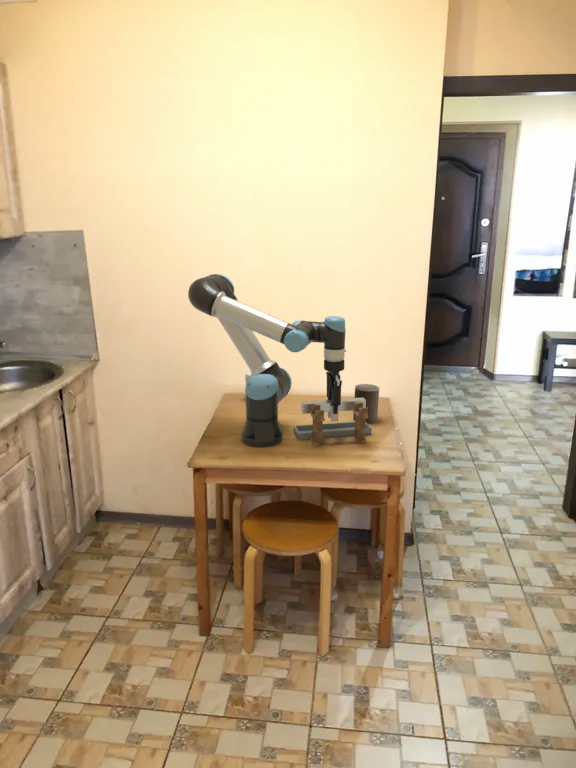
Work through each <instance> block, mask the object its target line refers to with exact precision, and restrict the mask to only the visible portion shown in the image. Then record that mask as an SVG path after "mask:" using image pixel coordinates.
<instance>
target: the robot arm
mask: <svg viewBox="0 0 576 768" xmlns="http://www.w3.org/2000/svg"><path fill="white" fill-rule="evenodd" d="M187 296H188V301H189V302H190V304H191V306H192V307H193V308H195V309H196V310H198V311H199V312H201V313H203V314H206V315H208V316H210V317H212V318H217V319H218V321H219V322H220V324H221V326H222V327H223V329H224V331H225V332H226V333H227V335H228V336H229V338H230V340H231V342H232V343H233V345H234V346H235V348H236V350H237V351H238V353H239V354H240V356H241V357H242V359H243V361H244V362H245V364H246V366H247V367H248V369H249V371H251V376H250V378H249V379H248V380H247V382H246V381H245V389H244V391H245V422H244V425H243V428H242V432H241V440H242V442H243V443H244V444H246V445H248V446H250V447H257V446H258V447H262V448H263V447H264V448H265V447H273V446H276V445H279V444H280V443H281V442H282V441H283V440H284V439H283V435H284V434H283V430H282V427H281V424H280V421H279V403H280V402H281V401H282V400H283V399H284V398H285V397H286V396H288V394H289V393H290V390H291V389H292V384H293V383H292V378H291V375H290V374H289V372H288V371H287V370H286V369H285V368H282V367H280V365H279V364H278V362H277V361H276V360H273V359H271V358H270V357H269V355H268V354H267V352H266V350H265V349H264V347H263V345H262V344H261V342H260V341H259V339H258V338H257V336H256V334H255V333H257V334H259V335H262V336H264V337H266V338H268V339H271V340H272V341H275V342H277V343H280V344H281V345H284V347H285V348H286V349H287V350H288V351H289V352H291V353H299V352H301V351H303V350H305V349H306V348H307V347H308V346H309V345H310V344H312V343H321V344H322V343H323V345H324V346H323V369H324V370H325V371H326V373H325V374H326V398H327V400H331V399H332V404H330V406H331V412H327V418H328V419H329V418H330V422H331V423H336V422H339V412H340V411H339V405H340V404H341V399H342V384H343V380H342V379H341V375H340V372H343V371H344V370H345V355H346V354H345V353H346V352H347V350H346V349H345V348H346V347H345V346H346V331H347V330H346V320H345V318H344V317H342V316H336V315H334V316H332V315H330V316H326V317H325V318H324V321H311V320H310V321H309V320H304V319H303V320H294V321H293V322H292V323H290V322H287V321H286V320H282V319H280V318H278V317H276V316H274V315H271V314H269V313H266V312H264V311H261V310H260V309H257V308H255V307H252V306H250V305H248V304H245V303H243V302H241V301H239V300H238V298H237V296H236V294H235V285H234V284H233V281H232V280H231V279H230V278H229V277H227V276H226V275H224V274H219V273H213V274H209V275H207V276H204V277H200V278H197V279H195V280H194V281H193V282H192V283H191V284H190V286H189V287H188V292H187ZM254 332H255V333H254ZM258 447H257V448H258Z"/></svg>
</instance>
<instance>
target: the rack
mask: <svg viewBox="0 0 576 768" xmlns="http://www.w3.org/2000/svg"><path fill="white" fill-rule="evenodd" d="M352 413H353V415H354V414H355V421H354V422H355V436H347V437H333V438H322V432H323V424H324V423H323V422H325V420H326V419H325V412H324V410H320V405H312V413H310V416H311V418H312V424H313V429H312V439H310V444H311V445H312V447H323V446H324V447H326V446H337V445H350V444H364V443H365V444H366V443H367V439H366V435H365V423H366V418H368V408H367V407H365V408H363V403H362V402H360V403H354V410H352Z"/></svg>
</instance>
